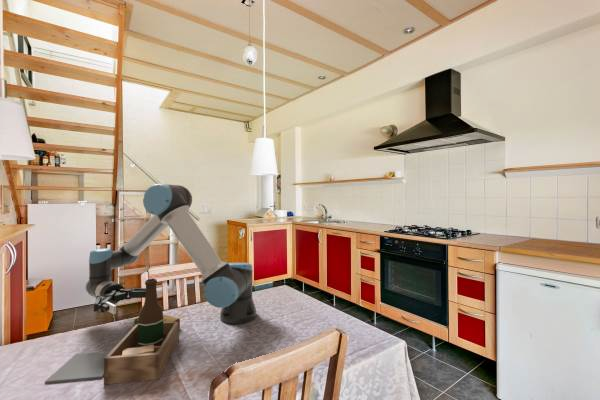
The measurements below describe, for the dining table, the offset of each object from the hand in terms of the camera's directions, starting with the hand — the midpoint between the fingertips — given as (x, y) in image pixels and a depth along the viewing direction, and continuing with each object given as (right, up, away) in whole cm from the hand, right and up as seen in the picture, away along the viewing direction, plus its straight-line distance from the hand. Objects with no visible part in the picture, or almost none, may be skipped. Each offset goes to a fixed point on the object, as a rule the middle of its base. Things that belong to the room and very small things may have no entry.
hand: (136, 303), depth 99 cm
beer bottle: (+8, -14, -6) cm, 17 cm away
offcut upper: (+10, -11, -16) cm, 21 cm away
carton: (+1, -15, +12) cm, 19 cm away
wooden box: (+8, -14, -10) cm, 19 cm away
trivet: (-7, -14, -13) cm, 20 cm away
